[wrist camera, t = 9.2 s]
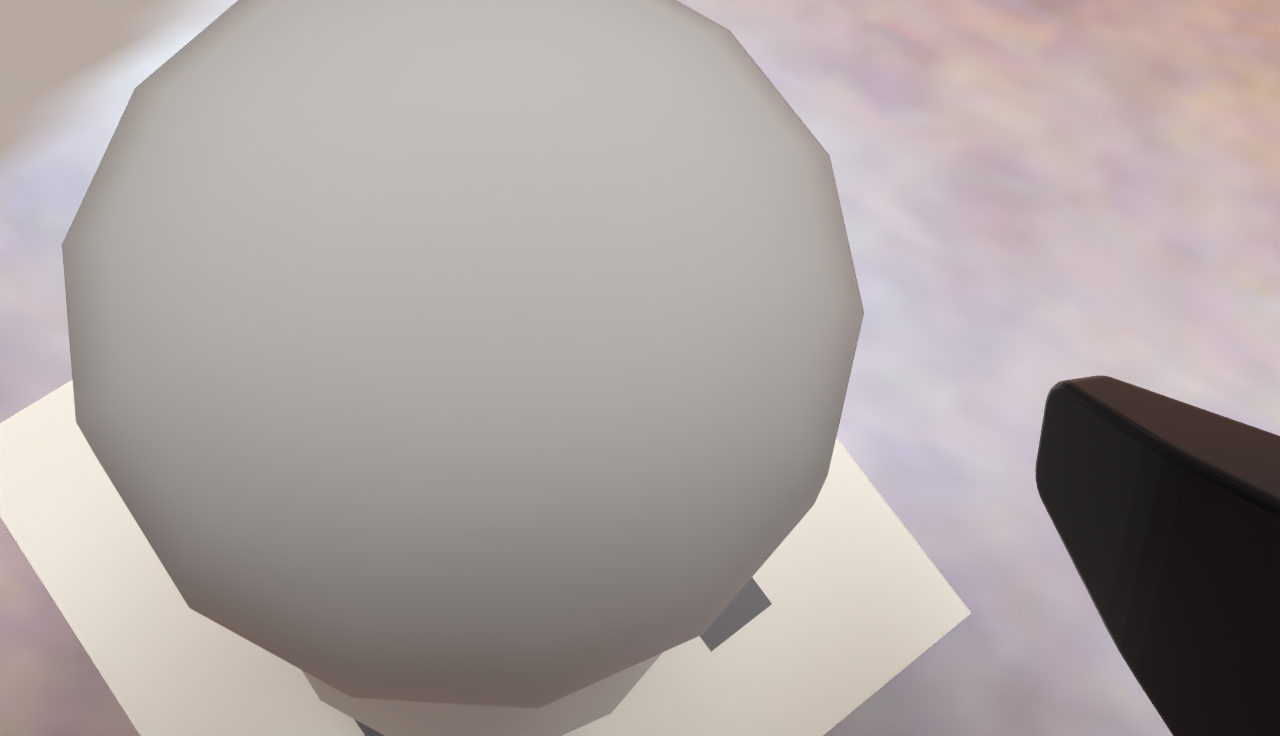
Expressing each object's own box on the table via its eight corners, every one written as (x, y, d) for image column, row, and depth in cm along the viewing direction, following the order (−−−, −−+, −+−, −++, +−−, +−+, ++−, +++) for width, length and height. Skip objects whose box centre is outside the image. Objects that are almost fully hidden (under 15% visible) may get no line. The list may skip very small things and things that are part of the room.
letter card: (378, 1098, 16) (376, 1106, 16) (-34, 452, 18) (-44, 449, 18) (964, 614, 19) (971, 612, 19) (561, 90, 21) (563, 81, 20)
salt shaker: (209, 622, 17) (-509, 453, 5) (416, 300, 19) (272, -444, 7) (559, 821, 17) (737, 1167, 5) (737, 479, 19) (1220, 71, 6)
